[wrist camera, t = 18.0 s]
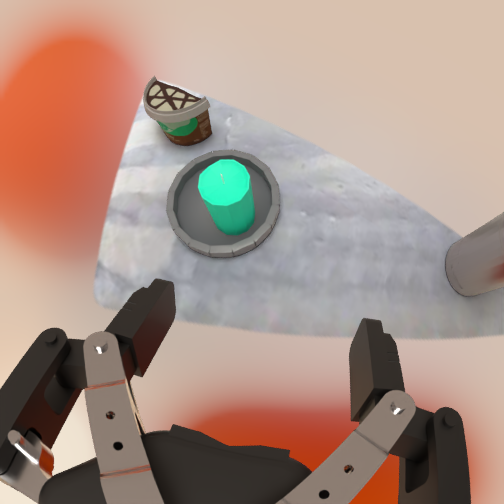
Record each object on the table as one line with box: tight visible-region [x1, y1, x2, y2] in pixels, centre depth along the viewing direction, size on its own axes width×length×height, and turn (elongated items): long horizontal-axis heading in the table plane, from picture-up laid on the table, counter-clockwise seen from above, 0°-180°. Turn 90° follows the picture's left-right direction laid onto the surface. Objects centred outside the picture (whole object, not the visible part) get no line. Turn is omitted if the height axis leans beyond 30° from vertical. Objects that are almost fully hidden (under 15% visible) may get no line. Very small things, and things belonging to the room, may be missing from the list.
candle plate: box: [166, 150, 280, 258], centre depth 44 cm, size 16×16×3 cm
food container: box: [143, 76, 212, 146], centre depth 45 cm, size 12×6×10 cm, turn 54°
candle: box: [198, 160, 255, 236], centre depth 38 cm, size 6×6×12 cm
